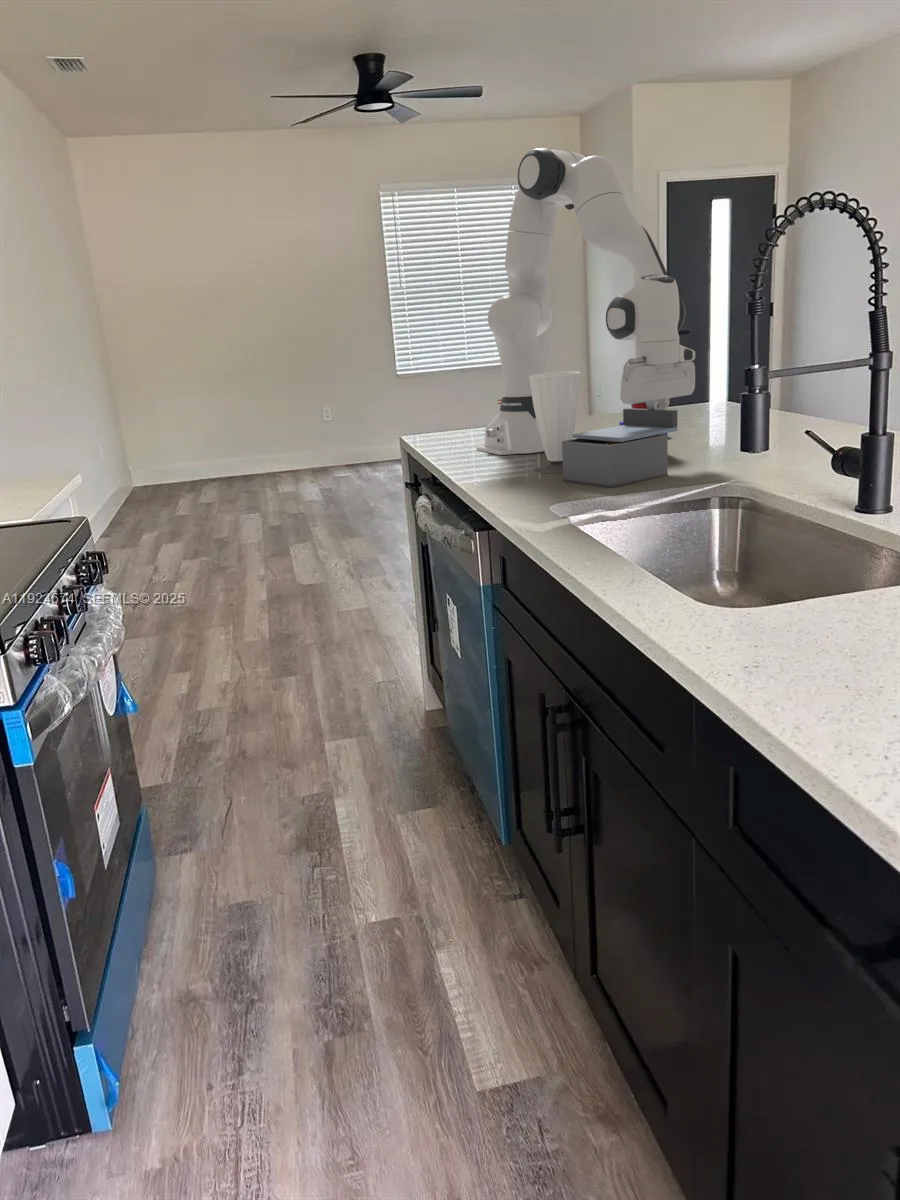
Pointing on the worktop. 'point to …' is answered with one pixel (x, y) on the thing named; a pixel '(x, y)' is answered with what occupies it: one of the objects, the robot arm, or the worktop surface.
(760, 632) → the worktop surface
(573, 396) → the cup
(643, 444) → the box
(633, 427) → the lid
